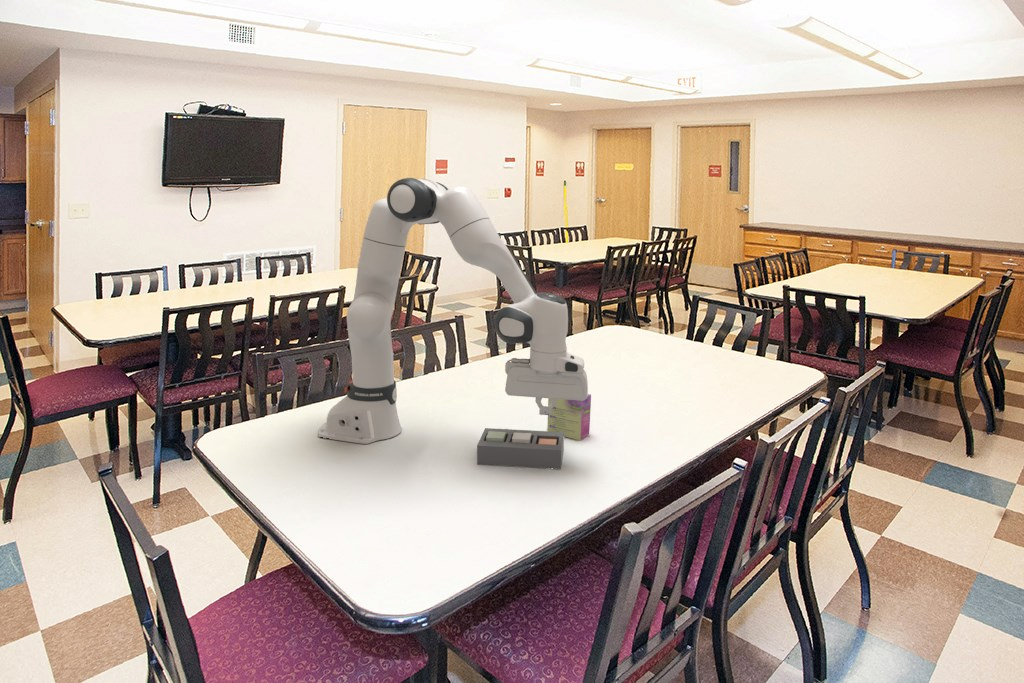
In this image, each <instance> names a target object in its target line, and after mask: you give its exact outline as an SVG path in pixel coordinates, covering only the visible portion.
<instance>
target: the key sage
mask: <svg viewBox="0 0 1024 683" xmlns="http://www.w3.org/2000/svg"><path fill="white" fill-rule="evenodd" d="M505 440H506V432H496V431H489V432H488V434H487V436H486V441H495V442H505Z"/></svg>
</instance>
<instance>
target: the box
mask: <svg viewBox="0 0 1024 683" xmlns="http://www.w3.org/2000/svg"><path fill="white" fill-rule="evenodd" d="M547 399H548V400H547V406H548V407H549V406H550V405H551V402H550V401H551V398H547ZM591 405H592V394H591V393H588V397H587V398H586V399H585V400H584V401H578V400H564V399H557V401H556V404H555V405H554V407H553V408H552V414H551V415H547V427H546V428H547V430H546V431H551V432H564V438H565V437H566V438H570V439H573V440H577V441H582V440H583V439H585V438H586V437H588V436H589V435H590V427H591V426H590V424H591V423H590V422H591V409H592V408H591V407H592V406H591Z"/></svg>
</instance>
